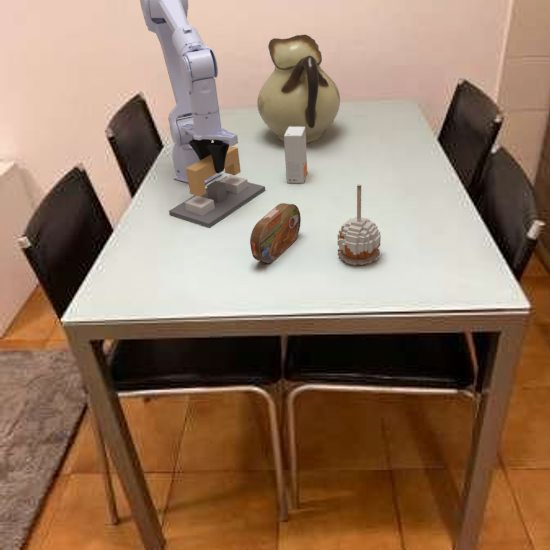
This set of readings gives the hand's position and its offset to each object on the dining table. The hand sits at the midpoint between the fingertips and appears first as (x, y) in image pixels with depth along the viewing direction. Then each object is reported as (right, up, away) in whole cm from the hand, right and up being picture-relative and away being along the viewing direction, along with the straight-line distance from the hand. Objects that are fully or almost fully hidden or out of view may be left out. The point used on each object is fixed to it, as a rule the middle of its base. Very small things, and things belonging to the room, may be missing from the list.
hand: (214, 170), depth 133 cm
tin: (+14, -19, -14) cm, 27 cm away
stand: (+1, -7, +5) cm, 8 cm away
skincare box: (+19, 0, +12) cm, 23 cm away
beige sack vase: (+21, +15, +34) cm, 43 cm away
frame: (0, -2, +2) cm, 3 cm away
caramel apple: (+30, -20, -18) cm, 40 cm away
